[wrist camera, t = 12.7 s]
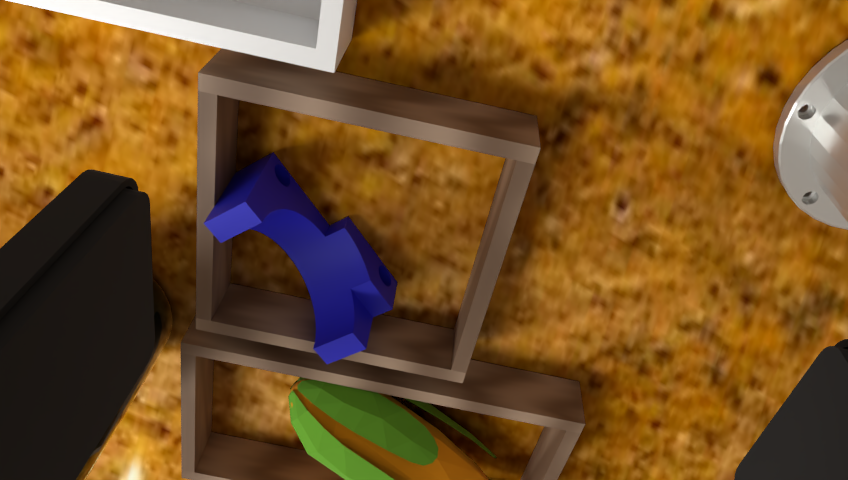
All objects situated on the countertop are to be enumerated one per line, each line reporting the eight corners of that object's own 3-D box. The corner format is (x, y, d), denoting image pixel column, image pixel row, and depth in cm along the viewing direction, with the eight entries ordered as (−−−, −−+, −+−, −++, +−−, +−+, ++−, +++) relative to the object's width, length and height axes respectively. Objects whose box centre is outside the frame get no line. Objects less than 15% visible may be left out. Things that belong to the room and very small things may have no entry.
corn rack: (579, 381, 51) (585, 424, 48) (523, 501, 59) (524, 544, 56) (201, 304, 50) (180, 342, 46) (199, 437, 58) (181, 477, 55)
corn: (310, 405, 43) (537, 542, 50) (338, 321, 49) (537, 453, 56) (251, 453, 47) (469, 574, 54) (283, 369, 53) (475, 487, 60)
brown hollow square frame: (536, 116, 39) (540, 147, 36) (464, 342, 50) (462, 383, 46) (223, 46, 39) (198, 72, 35) (215, 291, 49) (195, 329, 45)
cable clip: (397, 281, 47) (386, 341, 42) (343, 303, 49) (327, 364, 44) (293, 140, 42) (266, 190, 37) (236, 171, 43) (203, 223, 38)
